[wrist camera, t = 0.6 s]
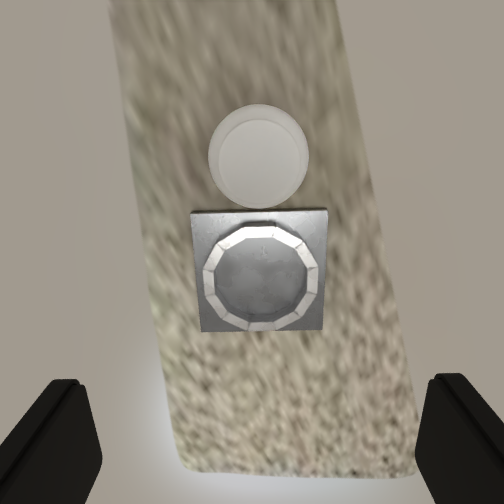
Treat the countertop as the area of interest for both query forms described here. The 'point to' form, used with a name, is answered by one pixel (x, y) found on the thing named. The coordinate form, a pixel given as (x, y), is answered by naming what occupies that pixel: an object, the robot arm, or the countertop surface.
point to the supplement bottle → (258, 156)
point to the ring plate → (260, 269)
